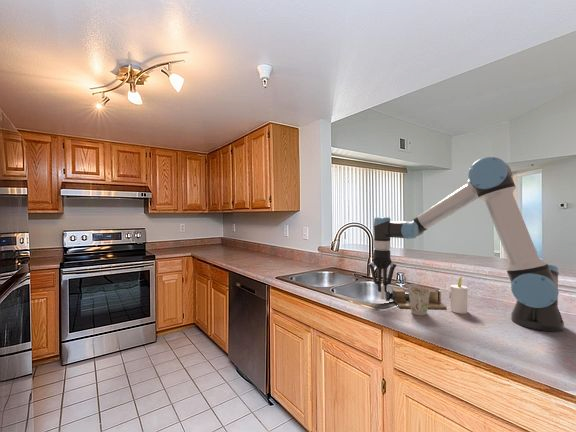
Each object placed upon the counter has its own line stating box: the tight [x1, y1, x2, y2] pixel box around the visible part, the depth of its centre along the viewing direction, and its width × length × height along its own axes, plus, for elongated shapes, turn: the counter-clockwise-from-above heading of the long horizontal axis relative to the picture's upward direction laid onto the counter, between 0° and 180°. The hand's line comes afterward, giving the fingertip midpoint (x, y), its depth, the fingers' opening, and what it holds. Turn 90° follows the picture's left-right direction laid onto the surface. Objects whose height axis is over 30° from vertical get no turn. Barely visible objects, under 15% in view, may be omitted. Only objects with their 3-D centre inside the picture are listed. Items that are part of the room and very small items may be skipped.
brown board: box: [391, 288, 447, 310], centre depth 136 cm, size 20×21×5 cm
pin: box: [384, 289, 409, 302], centre depth 137 cm, size 5×21×5 cm, turn 86°
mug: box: [407, 286, 430, 316], centre depth 119 cm, size 8×13×10 cm, turn 161°
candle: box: [449, 276, 468, 315], centre depth 123 cm, size 6×6×15 cm
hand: (382, 298), depth 137 cm, fingers closed
